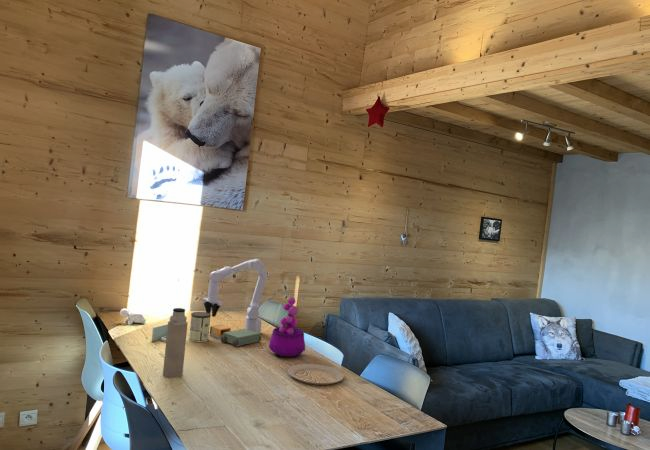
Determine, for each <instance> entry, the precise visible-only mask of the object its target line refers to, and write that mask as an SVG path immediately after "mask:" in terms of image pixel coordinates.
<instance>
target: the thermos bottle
mask: <svg viewBox="0 0 650 450" xmlns="http://www.w3.org/2000/svg"><path fill="white" fill-rule="evenodd" d="M172 311H173V312H172V315H171V316H170V317H169V321H167V324H168V328H167V338H166V342H165V351H164V359H163V360H164V361H163V368H162V370H163V371H162V376H163V377H165V378H171V379H174V378H175V379H176V378H180V377H182V376H183V373H184V362H185V353H186V342H187V333H188V324H189V323H188V321H187V316H186V314H185V313H186V309H185V308H181V307H176V308H173V309H172Z"/></svg>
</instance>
